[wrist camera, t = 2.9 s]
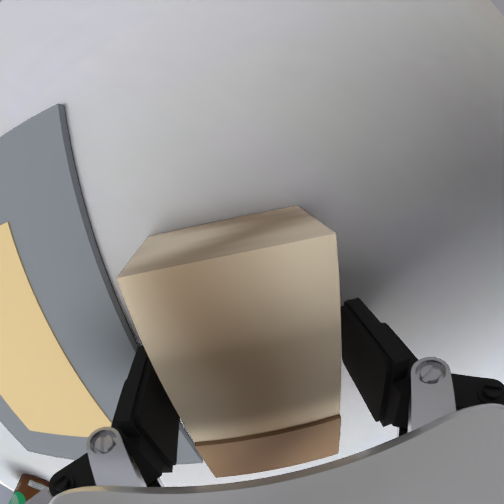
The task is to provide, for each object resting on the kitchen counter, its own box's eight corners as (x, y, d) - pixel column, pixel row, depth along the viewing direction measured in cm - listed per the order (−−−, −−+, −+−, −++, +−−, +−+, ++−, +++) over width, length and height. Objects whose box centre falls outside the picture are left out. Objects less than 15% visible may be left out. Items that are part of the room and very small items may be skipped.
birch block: (295, 204, 11) (338, 235, 7) (314, 392, 14) (338, 453, 10) (150, 234, 10) (114, 281, 6) (213, 412, 14) (215, 477, 10)
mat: (63, 105, 8) (56, 103, 8) (202, 456, 15) (202, 464, 14) (-93, 221, 7) (-98, 224, 7) (29, 447, 14) (27, 451, 14)
